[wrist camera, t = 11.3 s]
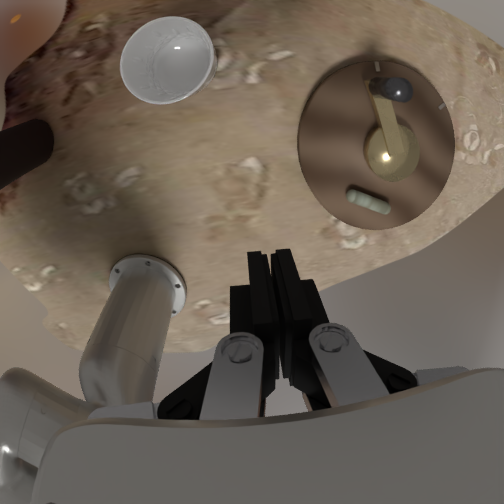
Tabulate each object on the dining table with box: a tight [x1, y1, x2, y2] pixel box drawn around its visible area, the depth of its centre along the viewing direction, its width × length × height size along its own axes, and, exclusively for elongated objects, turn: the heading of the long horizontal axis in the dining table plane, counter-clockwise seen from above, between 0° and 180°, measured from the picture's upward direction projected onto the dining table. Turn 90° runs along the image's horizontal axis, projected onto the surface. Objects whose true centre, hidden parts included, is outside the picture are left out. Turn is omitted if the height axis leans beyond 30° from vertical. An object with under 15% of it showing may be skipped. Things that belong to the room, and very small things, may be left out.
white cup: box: [120, 16, 218, 104], centre depth 22 cm, size 8×8×10 cm
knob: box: [364, 77, 420, 182], centre depth 25 cm, size 13×7×7 cm, turn 24°
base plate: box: [297, 61, 455, 230], centre depth 30 cm, size 22×22×4 cm
